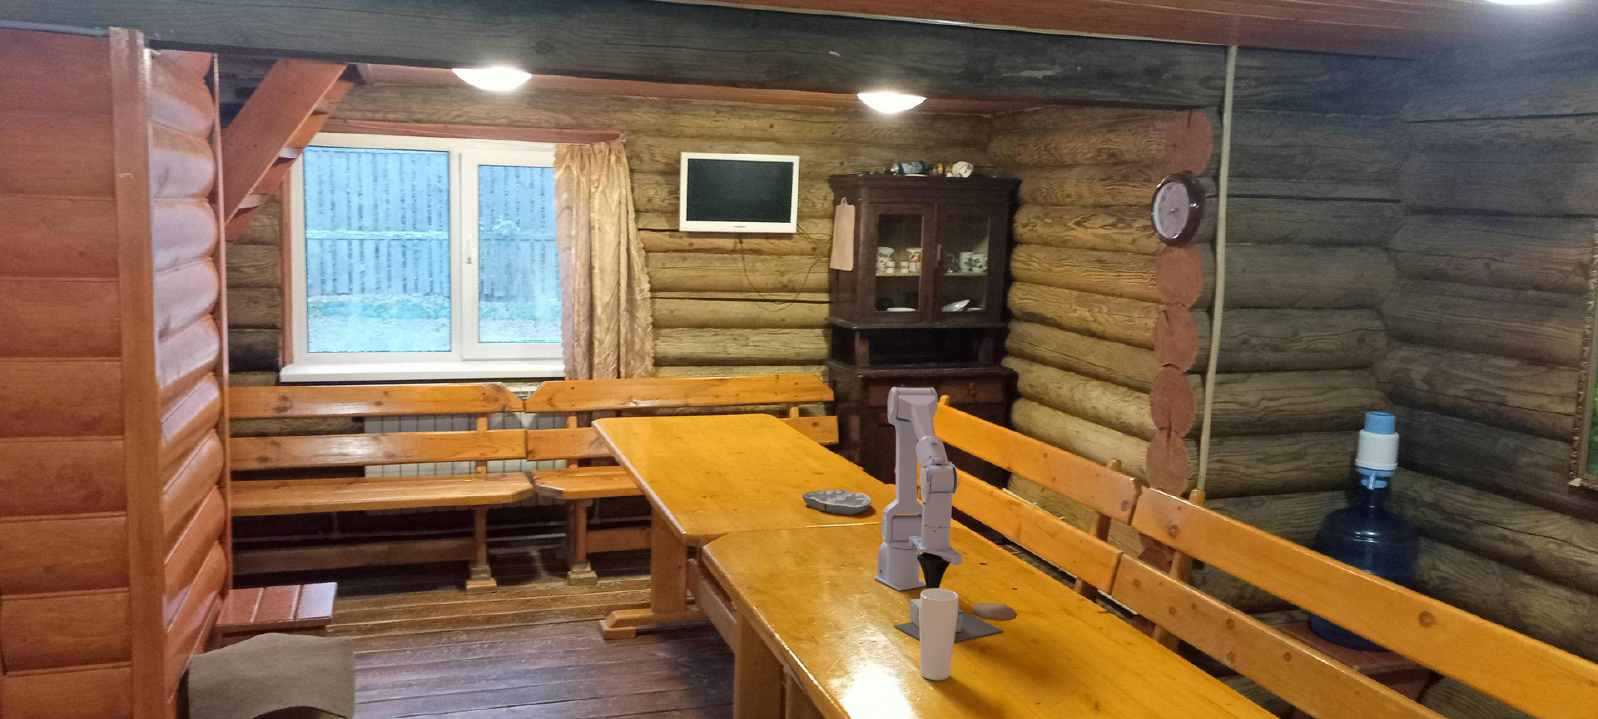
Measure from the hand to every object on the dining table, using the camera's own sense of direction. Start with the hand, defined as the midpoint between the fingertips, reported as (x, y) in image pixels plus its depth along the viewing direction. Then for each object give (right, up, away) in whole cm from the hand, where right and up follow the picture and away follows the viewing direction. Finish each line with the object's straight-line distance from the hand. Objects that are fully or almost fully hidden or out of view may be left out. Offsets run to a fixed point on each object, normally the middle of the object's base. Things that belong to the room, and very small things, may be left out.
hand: (932, 589), depth 228 cm
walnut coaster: (+13, -6, +7) cm, 17 cm away
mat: (+3, -7, -4) cm, 8 cm away
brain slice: (-16, +5, +87) cm, 89 cm away
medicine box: (-1, -4, +1) cm, 4 cm away
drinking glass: (-3, -10, -27) cm, 29 cm away
